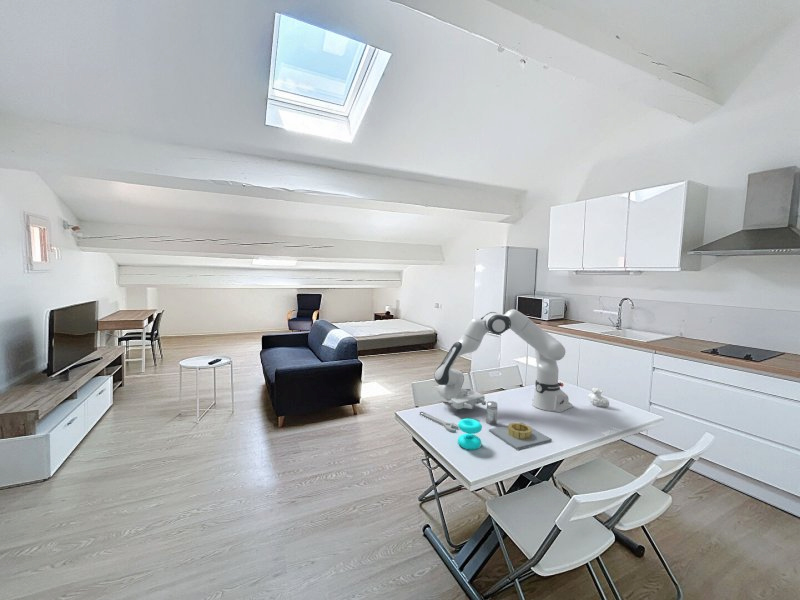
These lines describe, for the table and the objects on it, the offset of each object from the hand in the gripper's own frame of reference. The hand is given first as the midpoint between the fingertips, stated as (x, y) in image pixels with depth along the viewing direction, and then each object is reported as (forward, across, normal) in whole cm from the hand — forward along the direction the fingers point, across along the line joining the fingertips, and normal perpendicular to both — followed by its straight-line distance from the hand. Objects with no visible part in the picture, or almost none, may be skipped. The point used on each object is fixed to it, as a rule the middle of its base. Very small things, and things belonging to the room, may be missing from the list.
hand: (478, 405), depth 172 cm
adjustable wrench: (-6, -22, +6) cm, 23 cm away
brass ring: (+25, 0, +6) cm, 26 cm away
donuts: (+18, -25, +6) cm, 32 cm away
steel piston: (+9, 0, +6) cm, 11 cm away
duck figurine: (+25, +70, +6) cm, 75 cm away
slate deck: (+25, 0, +6) cm, 26 cm away
